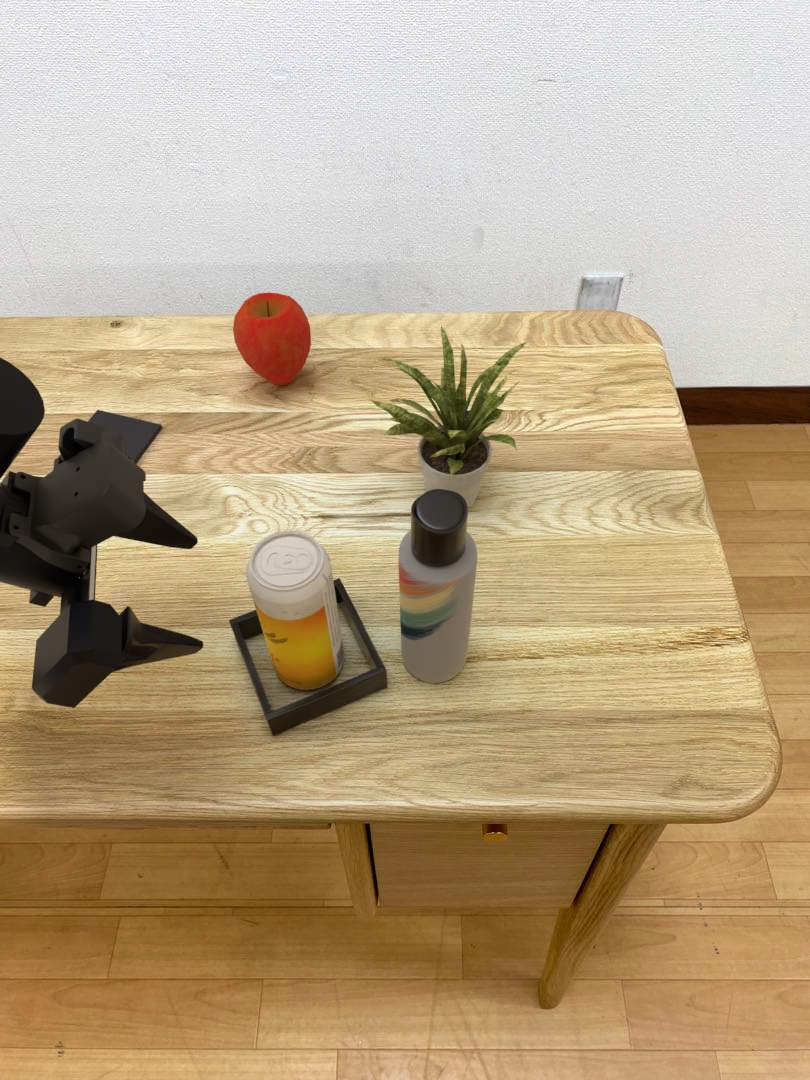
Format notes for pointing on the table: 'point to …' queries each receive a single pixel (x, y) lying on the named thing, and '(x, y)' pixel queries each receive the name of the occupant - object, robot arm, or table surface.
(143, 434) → the mat
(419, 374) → the house plant
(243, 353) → the apple
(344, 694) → the black square frame
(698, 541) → the table surface
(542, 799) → the table surface
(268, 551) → the beer can
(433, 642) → the lotion bottle
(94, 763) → the table surface
